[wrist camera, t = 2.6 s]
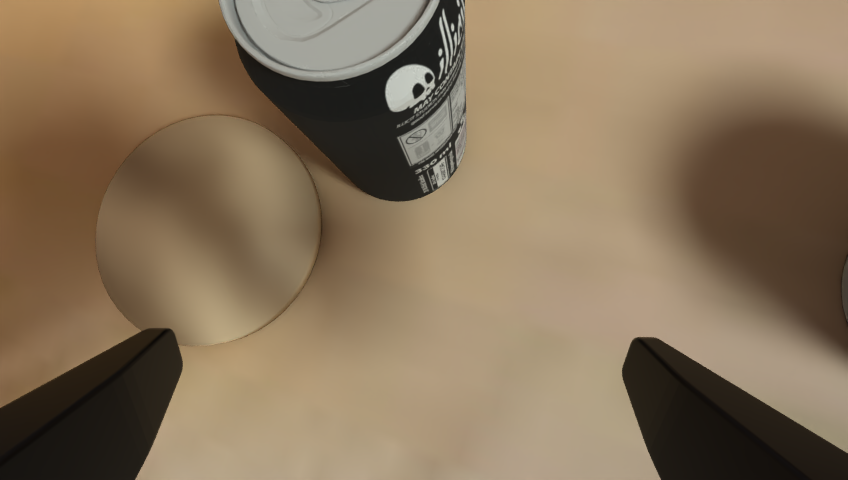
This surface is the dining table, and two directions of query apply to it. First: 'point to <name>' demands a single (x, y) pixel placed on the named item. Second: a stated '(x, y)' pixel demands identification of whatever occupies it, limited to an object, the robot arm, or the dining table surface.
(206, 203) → the disc
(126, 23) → the dining table surface
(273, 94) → the beverage can
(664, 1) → the dining table surface
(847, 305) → the coffee mug
